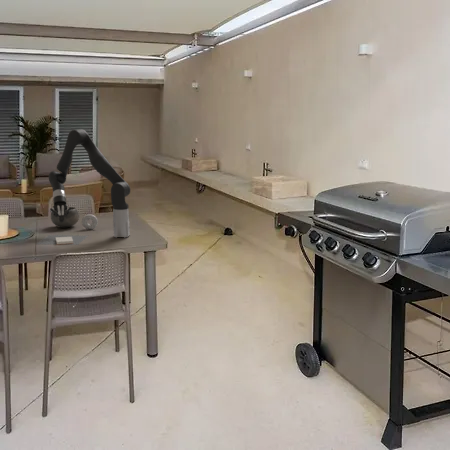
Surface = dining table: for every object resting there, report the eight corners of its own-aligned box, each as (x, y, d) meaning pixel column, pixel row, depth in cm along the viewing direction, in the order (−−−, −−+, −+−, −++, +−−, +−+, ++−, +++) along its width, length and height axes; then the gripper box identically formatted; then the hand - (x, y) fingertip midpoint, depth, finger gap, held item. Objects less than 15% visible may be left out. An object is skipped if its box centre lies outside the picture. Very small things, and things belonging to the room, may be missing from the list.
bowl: (83, 224, 361) (82, 206, 359) (73, 230, 343) (72, 210, 341) (58, 224, 363) (57, 205, 360) (46, 229, 345) (45, 210, 343)
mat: (88, 236, 326) (88, 235, 326) (78, 245, 302) (78, 244, 302) (49, 235, 326) (49, 235, 325) (35, 244, 302) (35, 244, 302)
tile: (55, 237, 312) (56, 241, 301) (71, 236, 315) (73, 240, 304) (55, 240, 312) (56, 244, 301) (71, 239, 315) (73, 243, 304)
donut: (82, 230, 344) (81, 215, 342) (82, 229, 347) (81, 214, 345) (98, 229, 346) (97, 214, 344) (98, 228, 349) (97, 213, 347)
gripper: (48, 195, 323) (50, 218, 314) (70, 194, 328) (73, 217, 319) (48, 202, 329) (50, 225, 320) (70, 201, 334) (73, 224, 325)
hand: (61, 221), depth 320 cm, fingers closed
